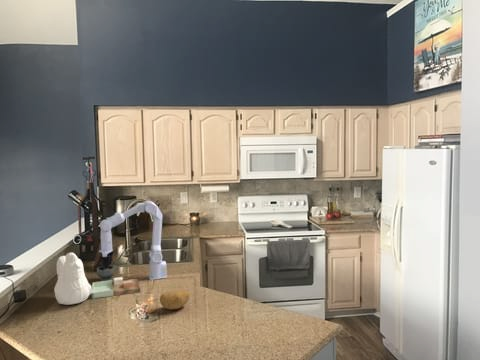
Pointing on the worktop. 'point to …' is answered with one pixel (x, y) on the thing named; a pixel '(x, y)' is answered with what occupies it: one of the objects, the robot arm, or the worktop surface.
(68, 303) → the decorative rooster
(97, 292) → the tray
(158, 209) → the robot arm
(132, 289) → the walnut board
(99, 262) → the owl
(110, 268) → the mortar and pestle
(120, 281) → the cream tile
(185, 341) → the worktop surface
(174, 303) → the potato
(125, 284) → the terracotta tile
